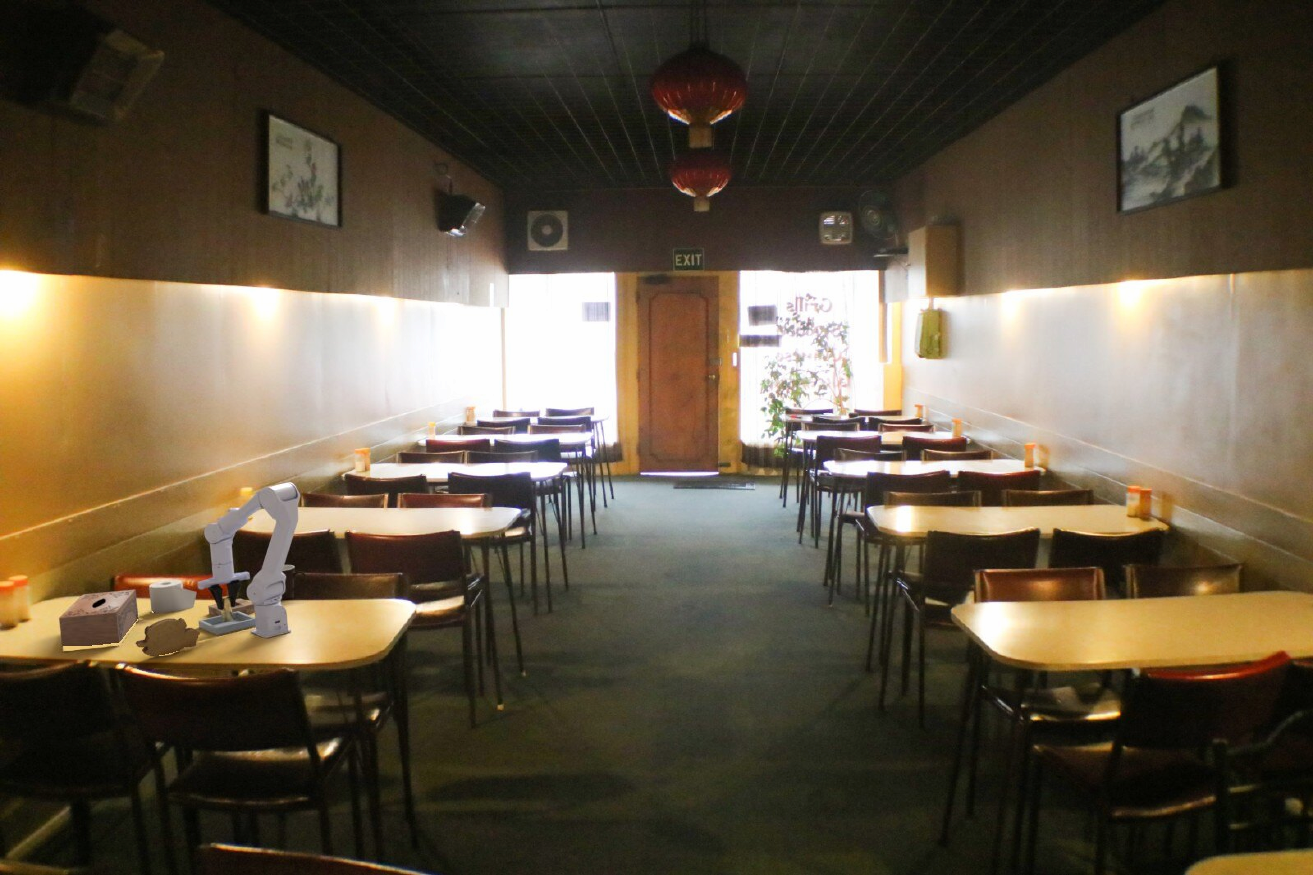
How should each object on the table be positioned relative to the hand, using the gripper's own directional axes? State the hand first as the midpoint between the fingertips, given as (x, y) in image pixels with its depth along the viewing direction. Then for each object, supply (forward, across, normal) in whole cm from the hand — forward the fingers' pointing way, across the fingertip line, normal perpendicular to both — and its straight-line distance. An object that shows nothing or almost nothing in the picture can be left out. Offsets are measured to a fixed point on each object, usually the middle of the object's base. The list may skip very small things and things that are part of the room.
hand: (226, 607), depth 309 cm
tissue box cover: (+6, +27, -23) cm, 36 cm away
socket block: (+6, -7, -13) cm, 16 cm away
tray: (+6, 0, 0) cm, 6 cm away
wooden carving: (+6, +21, +11) cm, 25 cm away
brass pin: (+4, 0, 0) cm, 4 cm away
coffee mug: (+6, -26, -16) cm, 31 cm away
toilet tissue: (+6, +3, -34) cm, 34 cm away
